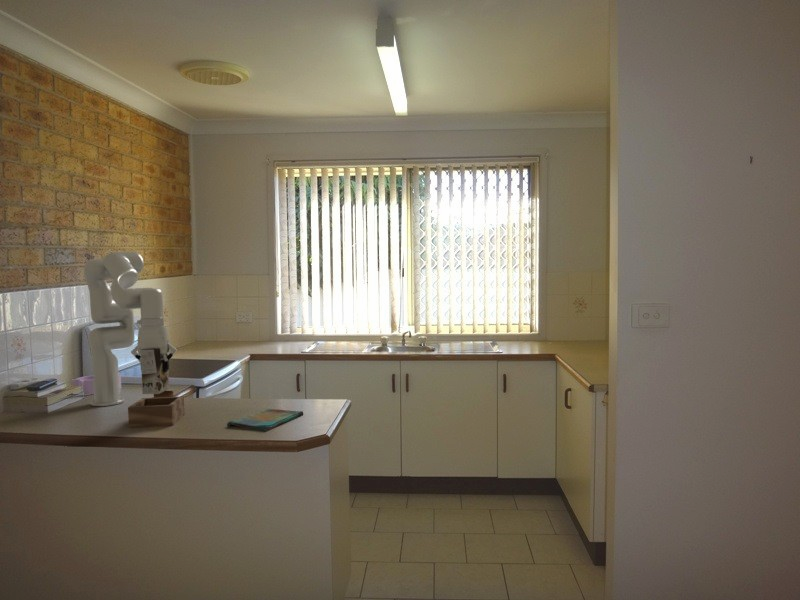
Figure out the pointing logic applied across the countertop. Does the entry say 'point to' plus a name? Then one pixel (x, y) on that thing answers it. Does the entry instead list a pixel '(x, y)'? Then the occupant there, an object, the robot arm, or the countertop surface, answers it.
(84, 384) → the pink plastic container
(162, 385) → the coffee box
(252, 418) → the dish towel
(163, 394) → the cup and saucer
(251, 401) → the countertop surface
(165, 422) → the open wooden box
